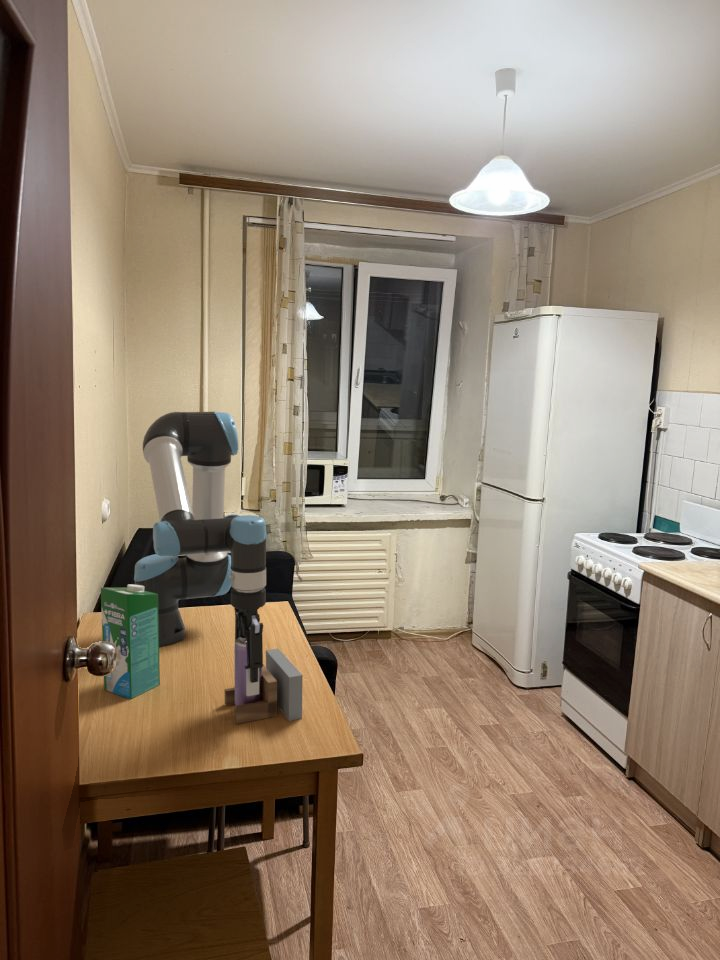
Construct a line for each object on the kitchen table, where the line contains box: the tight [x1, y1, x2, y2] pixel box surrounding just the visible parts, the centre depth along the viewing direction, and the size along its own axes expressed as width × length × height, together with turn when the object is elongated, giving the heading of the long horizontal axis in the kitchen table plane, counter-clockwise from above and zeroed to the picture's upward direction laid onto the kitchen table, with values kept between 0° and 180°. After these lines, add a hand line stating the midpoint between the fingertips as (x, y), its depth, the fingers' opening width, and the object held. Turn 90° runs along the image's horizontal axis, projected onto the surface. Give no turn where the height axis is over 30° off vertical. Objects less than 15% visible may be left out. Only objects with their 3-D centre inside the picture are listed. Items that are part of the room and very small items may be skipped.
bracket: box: [224, 664, 278, 725], centre depth 152 cm, size 10×9×8 cm
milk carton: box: [100, 584, 161, 700], centre depth 161 cm, size 9×9×25 cm
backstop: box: [265, 648, 303, 722], centre depth 156 cm, size 16×3×10 cm, turn 26°
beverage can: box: [234, 637, 262, 706], centre depth 152 cm, size 6×6×15 cm
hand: (248, 688), depth 152 cm, fingers closed on beverage can, 6 cm apart
